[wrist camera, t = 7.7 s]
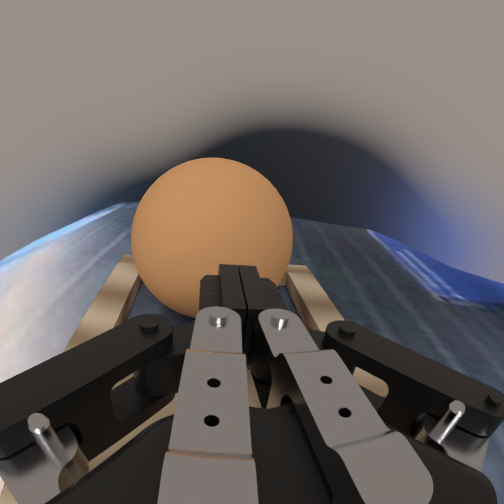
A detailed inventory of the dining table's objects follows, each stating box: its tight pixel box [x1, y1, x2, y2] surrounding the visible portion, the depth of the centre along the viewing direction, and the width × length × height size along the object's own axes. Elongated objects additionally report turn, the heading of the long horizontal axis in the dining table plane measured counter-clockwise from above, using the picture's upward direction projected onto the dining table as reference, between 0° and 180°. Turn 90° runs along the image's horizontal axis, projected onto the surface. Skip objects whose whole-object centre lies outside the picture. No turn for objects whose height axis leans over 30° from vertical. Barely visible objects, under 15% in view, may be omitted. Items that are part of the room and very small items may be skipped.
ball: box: [131, 158, 293, 318], centre depth 23 cm, size 12×12×12 cm
